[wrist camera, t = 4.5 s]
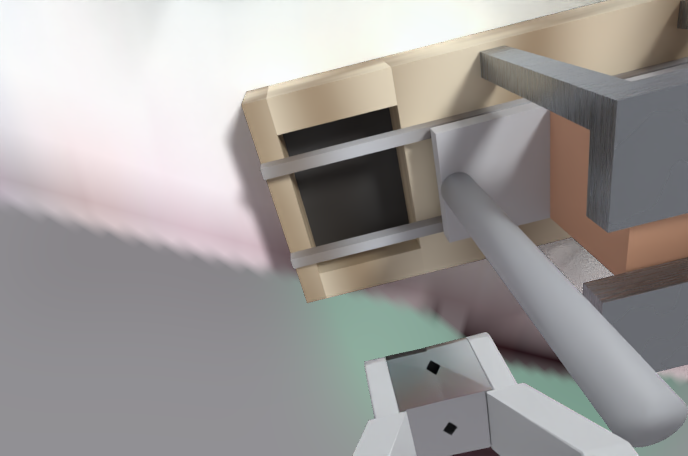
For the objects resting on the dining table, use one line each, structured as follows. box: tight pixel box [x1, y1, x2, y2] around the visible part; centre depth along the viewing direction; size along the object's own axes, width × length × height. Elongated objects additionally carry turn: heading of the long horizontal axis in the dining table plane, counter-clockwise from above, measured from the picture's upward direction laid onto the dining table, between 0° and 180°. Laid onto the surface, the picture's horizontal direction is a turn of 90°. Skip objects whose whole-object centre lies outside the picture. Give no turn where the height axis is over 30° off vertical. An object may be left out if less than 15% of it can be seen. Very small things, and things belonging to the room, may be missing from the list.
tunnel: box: [480, 0, 688, 372], centre depth 16 cm, size 9×10×8 cm
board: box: [242, 0, 688, 303], centre depth 21 cm, size 31×10×3 cm, turn 102°
